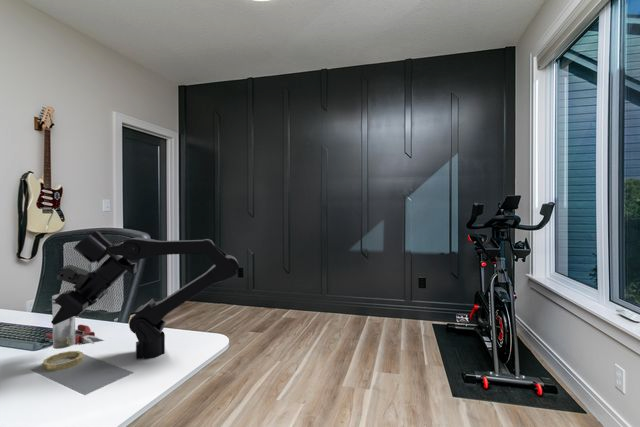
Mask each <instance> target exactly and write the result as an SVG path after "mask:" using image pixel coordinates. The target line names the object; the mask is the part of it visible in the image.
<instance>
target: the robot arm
mask: <svg viewBox="0 0 640 427" xmlns="http://www.w3.org/2000/svg"><path fill="white" fill-rule="evenodd" d="M73 250H74V251H75V252H77V253H78V254H79V255H80V256H82V257H83V258H84V259H85V260H86V261H87V262H89V263H90V264H94V263H97V264H100V263H101V264H100V265H98V267H97V268H96V269H94V270H92V271H88V270H86V269H84V268H81V267H79V266H75V265H72V264H68V265H65V266H63V267H61V269H60V271H57V277H56V279H57V280H58V281H60V282H62V281H63V282H66V283H69V284H73V286H72V287H73V288H74V290H73V289H71V290H70V289H69V290H66V291H64V292H62V293H59V294H60V295H59V296H58V297H57V298H56V299H55V302H56V303H57V304H59V305H60V306H61V308H60V309H59V311H58V312H57V314H56V315H55V317H54V318H53V319H52V320H51V325H53V324H54V325H56V324H58V323H60V322H62V321H64V320H67V319H69V318H71V317H74V316H75V318H77V317H78V316H79V315H81V314H83V313H84V312H85V310H87V309H88V308H89V307H91V306H93V305H95V304H96V303H97V302H98V301H97V300H99V301H100V300H102V298H104V297H105V296H106V295H107V294H108V293H109V292H108V290H109V289H110V288H111V287H112V286H113V285H114V284H115V283H116V282H117V281H118V280H119V279H121V277H123V275H124V274H126V272H128V273H130V275H135V273H137V271H138V269H137V267H138V266H137V265H138V262H131V261H138V260H142V259H148V258H152V257H156V256H164V255H167V256H168V255H190V254H193V255H194V254H203V255H205V257H206V258H208V260H210V262H211V263H213V265H212V266H211V267H210V268H209V269H208V270H207V271H206V272H204V273H202V274H201V275H199V276H198V277H196V278H194V279H193V280H192V281H190V282H188V283H187V284H185V285H184V286H182V287H181V288H179V289H177V290H176V291H174V292H173V293H171V294H170V295H168V296H166V297H165V298H163V299H161V300H159V301H158V300H157V301H155V300H154V298H151V299H150V300H149V301H148V302H146V303H145V304H142V305H140V306H139V307H138V308H137V309H136V310H135V311H134V313H133V316H132V317H131V318H130V320H129V324H128V327H129V329H130V332H132V333H133V334H134V335H135V337H136V339H137V341H136V342H135V359H136V360H151V359H156V358H158V357H160V356H162V355H165V354H166V353H165V352H166V351H165V350H166V349H165V347H166V345H165V341H166V340H165V339H166V338H165V337H166V335H165V332H164V331H163V330H164V328H165V325H166V321H165V320H164V318H165V317H166V316H167V315H168V314H169V313H171V312H172V311H174V310H176V309H177V308H178V307H179V308H180V306H182V305H183V304H185V303H186V302H188V301H189V300H191V299H192V298H194V297H196V296H197V295H199V294H200V293H201V292H203V291H205V290H206V289H208V288H209V287H212V286H214V285H215V284H218V283H222V282H224V281H227V280H229V279H230V278H233V277H235V276H236V275H237V274H238V273H239V272H238V271H239V262H238V260H237V258H236V257H235V256H233V255H230V254H227V253H226V252H224V251H223V250H222V249H221V248H220V247H218V246H217V244H216V243H214V241H213V240H211V239H209V238H206V239H204V238H203V239H194V240H193V239H192V240H191V239H190V240H189V239H188V240H187V239H186V240H185V239H184V240H158V239H154V238H153V239H152V238H146V237H139V236H138V237H137V236H136V237H133V238H130V239H126V240H125V241H124V242H123V243H120V242H118V243H111V242H110V241H109V240H108V239H107V238H106V237H104V235H103V234H102V233H101V232H100V231H98V230H97V231H93V233H91V234H90V235H88V236H86V237H85V238H84V239H81V240H80V241H79V242H77V243H76V244H75V246H74V247H73ZM108 256H109V257H108ZM121 256H122V257H121ZM106 258H107V259H106ZM104 260H105V261H104ZM102 261H104V262H102Z"/></svg>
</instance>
